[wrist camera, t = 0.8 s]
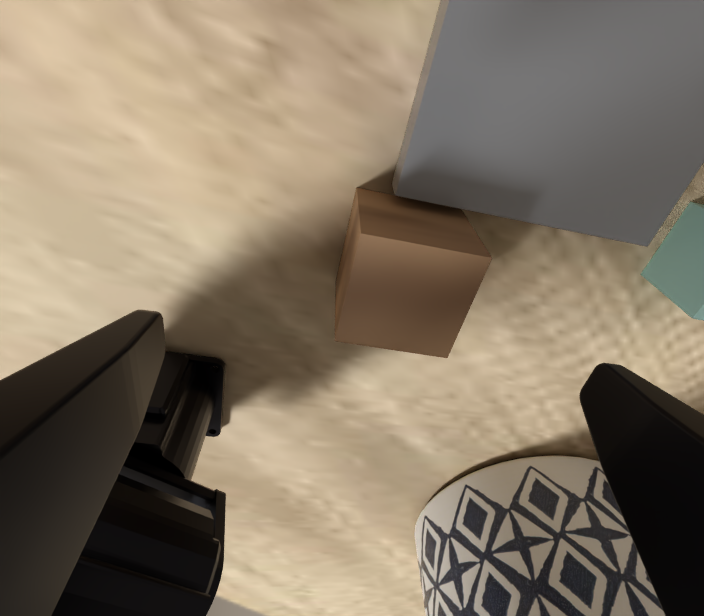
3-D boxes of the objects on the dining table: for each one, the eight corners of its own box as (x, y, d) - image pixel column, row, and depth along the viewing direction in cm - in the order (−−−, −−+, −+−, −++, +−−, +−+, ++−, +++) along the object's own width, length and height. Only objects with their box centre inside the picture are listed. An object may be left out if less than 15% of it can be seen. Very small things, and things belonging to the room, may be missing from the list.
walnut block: (427, 296, 23) (447, 358, 18) (335, 280, 22) (334, 341, 18) (460, 208, 20) (491, 257, 16) (356, 187, 19) (361, 233, 15)
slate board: (628, 232, 21) (647, 246, 19) (391, 183, 19) (395, 195, 18) (835, -96, 14) (883, -107, 13) (498, -215, 12) (516, -241, 11)
